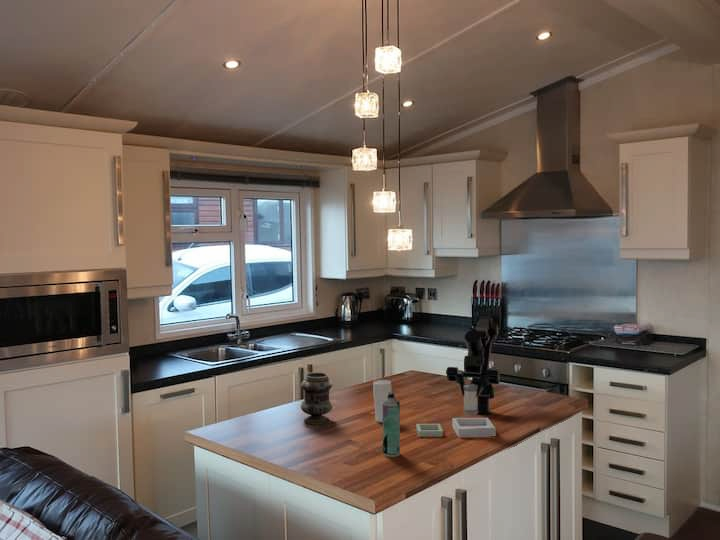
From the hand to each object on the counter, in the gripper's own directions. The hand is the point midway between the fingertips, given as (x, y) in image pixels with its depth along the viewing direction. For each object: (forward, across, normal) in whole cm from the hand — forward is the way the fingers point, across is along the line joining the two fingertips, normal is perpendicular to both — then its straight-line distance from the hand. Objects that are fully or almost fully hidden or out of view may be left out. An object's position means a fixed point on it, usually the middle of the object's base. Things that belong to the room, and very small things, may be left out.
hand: (470, 395), depth 222 cm
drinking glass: (+7, -34, +12) cm, 37 cm away
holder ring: (+13, -14, +6) cm, 20 cm away
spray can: (+30, -21, -12) cm, 38 cm away
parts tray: (+8, +1, +11) cm, 14 cm away
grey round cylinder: (+4, 0, +6) cm, 7 cm away
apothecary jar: (+12, -58, +7) cm, 59 cm away
